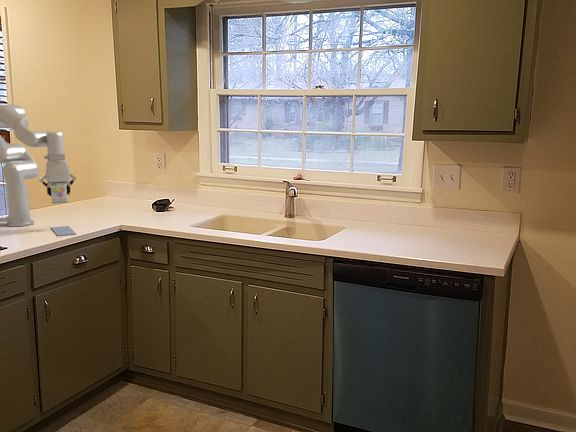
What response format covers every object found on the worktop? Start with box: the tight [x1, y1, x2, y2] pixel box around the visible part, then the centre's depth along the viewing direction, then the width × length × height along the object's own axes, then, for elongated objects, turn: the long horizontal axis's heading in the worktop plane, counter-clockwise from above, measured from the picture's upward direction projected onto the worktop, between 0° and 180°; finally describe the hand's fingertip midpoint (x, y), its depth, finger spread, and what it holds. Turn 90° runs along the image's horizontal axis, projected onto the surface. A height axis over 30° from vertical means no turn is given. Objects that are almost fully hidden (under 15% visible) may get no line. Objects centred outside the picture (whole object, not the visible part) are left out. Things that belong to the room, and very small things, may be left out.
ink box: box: [50, 182, 68, 205], centre depth 258 cm, size 7×4×13 cm, turn 114°
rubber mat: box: [50, 225, 77, 237], centre depth 257 cm, size 8×20×1 cm, turn 31°
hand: (59, 194), depth 258 cm, fingers closed on ink box, 7 cm apart
